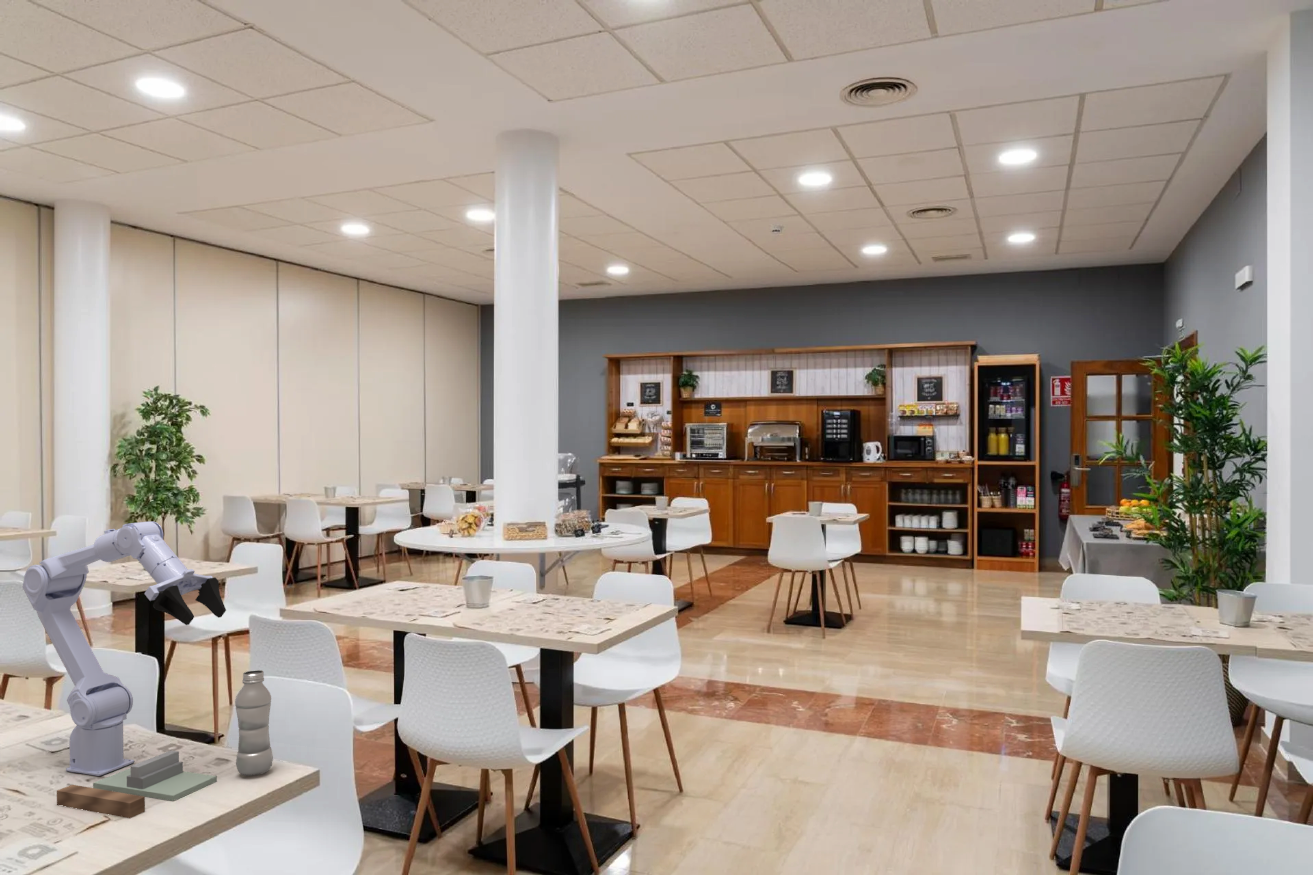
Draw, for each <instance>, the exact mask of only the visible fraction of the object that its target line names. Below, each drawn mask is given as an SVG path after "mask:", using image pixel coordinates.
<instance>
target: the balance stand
mask: <svg viewBox="0 0 1313 875" xmlns="http://www.w3.org/2000/svg"><path fill="white" fill-rule="evenodd" d="M179 754H180V751H179V750H168V751H166V752H163V753H160V754H158V755H156V756H152V757H150V758H147V759H144V760H143V761H140V762H137V763H134V764H132V765H131V766H130V767H129V768H127V769H125V770H122V771H120V772H117V773H115V774H112V775H109V776H107V777H105V778H101V779H100V780H97V781H95V782H94V781H93V783H92V788H96V789H102V790H108V791H114V792H120V793H126V794H132V795H138V796H144V797H145V798H146V797H147V798H153V799H157V800H164V801H171V802H174V801H177V800H179V799H182V798H183V797H185V796H188V795H190V794H192V793H194V792H196V791H199V790H201V789H203V788H205V787H208V786H209V785H212V784H214V783H216V782H218V780H217V778H218V776H217V775H212V774H205V773H197V772H191V771H184V765H183V764H184V762H182V761H180V758H179V756H180V755H179Z"/></svg>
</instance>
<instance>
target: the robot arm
mask: <svg viewBox="0 0 1313 875" xmlns="http://www.w3.org/2000/svg"><path fill="white" fill-rule="evenodd" d="M103 532H104V533H103V534H102V535H99V536H98V537H97V538H96V539H95V540H94V542H93V544H90V545H87V546H84V547H79V548H77V549H73V550H70V551H67V552H64V553H60V554H58V555H55V556H51V557H48V558H45V559H43V560H42V561H39V563H38V564H33V565H30V566H29V567H28V568H27V569H26V570H25V574H24V576H23V582H22V589H23V592H24V593H25V595H26V596H27V599H28V601H29V603H30V604H31V607H32V608H33V610H34V611H36V615H37V616H38V619H39V621H40V623H41V625H42V626H43V628H44V630H45V632H46V634H47V636H48V638H49V640H50V642H51V644H52V645H53V647H54V650H55V651H56V653H57V655H58V657H59V659H60V661H61V662H62V664H63V666H64V668H65V670H66V672H67V674H68V675H69V677H70V679H71V680H70V681H71V682H72V683H73V685H74V687H73V688H72V690H70V693H69V694H68V695H67V698H66V703H67V704H68V705H69V709H70V710H69V711H70V717H71V720H72V722H73V723H74V725H76V726H75V727H74V728H73V729H72V730H71V733H70V735H69V740H68V741H69V767H65V771H66V772H71V773H76V774H82V775H83V774H84V775H90V776H97V777H100V776H103V775H106V774H108V773H111V772H113V771H117V770H119V769H121V768H124V767H126V766H129V765H131V764H132V765H133V764H135V760H134V759H128V758H124V721H125V720H127V715H128V714H129V713H130V712H131V711H132V708H133V706H134V697H133V693H132V692H131V690H130V689H129V687H128V686H126V685H124V684H123V682H122V681H121V679H120V678H119V677H118V676H115V675H113V674H109V673H107V672H105V671H104V670H103V668H102V666H101V664H100V663H99V661H98V660H97V657H96V655H95V654H94V651H93V650H92V648H91V646H90V644H89V642H88V641H87V638H86V637H85V635H84V633H83V632H82V630H81V628H80V626H79V623H78V622H77V620H76V619H75V616H74V615H73V613H72V611H71V608H72V606H74V605H75V604H76V603H77V601H78V600H79V597H80V596H81V593H82V591H83V589H84V586H85V584H86V582H87V577H88V574H89V572H90V571H89V567H88V565H90V564H93V563H95V562H98V561H102V562H105V563H112V562H115V561H119V560H121V559H124V558H127V557H130V556H131V558H132V559H135V560H137V561H138V562H139V563H140V564H141V566H142V567H143V569H145V571H146V572H147V573H148V574H149V576H150V577H151V578H152V579H153V580H154V581H155V583H156V584H154V585H149V586H148V587H147V589H146V590H145V592H144V595H145V596H146V598H147V599H148V600H149V601H150V602H151V601H154V602H153V604H152V607H153V609H154V610H157V611H160V612H162V613H166V614H168V615H170V616H171V617H173V618H175V619H176V620H178V622H179V621H180V622H181V623H182V624H183V625H185V626H189V625H190V624H191V623H192V621H193V620H194V618H195V616H194V614H193V611H192V610H191V609H190V607H189V606H188V605H187V603H186V602H185V600H184V598H183V596H182V595H186V594H188V593H190V592H193V591H196V590H197V591H198V592H197V594H198V595H197V596H196V598H195V600H194V601H196V602H199V603H200V604H201V605H203V606H205V608H207V609H208V610H209V611H210V613H212V615H214V616H215V617H216V618H222V616H224V614H225V613H226V611H227V609H226V607H225V604H224V602H223V599H222V596H221V592H220V585H219V584H220V582H219V579H217V578H216V577H214V576H212V575H204V574H199V573H196V572H195V570H194V569H193V568H187V567H186V565H185V564H184V563H183V562H182V560H181V559H180V558H179V557H178V555H176V553H175V552H174V551H173V550H172V548H171V547H170V546H169V545H168V544H167V543H166V541H165V540H164V531H163V528H162V526H161V525H160V524H159V523H158V522H156V521H139V522H131V523H125V524H122V526H121V527H120V528H118V529H115V528H112V529H106V530H104V531H103Z"/></svg>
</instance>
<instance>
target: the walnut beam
mask: <svg viewBox="0 0 1313 875" xmlns="http://www.w3.org/2000/svg"><path fill="white" fill-rule="evenodd" d="M56 805H57V806H59V805H63V806H62V807H64V806H66V807H65V808H70V807H73V808H72V809H75V808H77V809H76V810H81V809H83V810H82V811H86V810H87V811H88V812H93V813H97V812H99V813H98V814H104V815H108V814H109V815H110V816H114V817H120V818H125V819H131V818H134V817H137V816H139V815H141V814H143V813H145V812H146V797H145V796H139V795H132V794H126V793H120V792H114V791H108V790H102V789H96V788H93V787H89V786H84V785H83V786H82V785H77V784H70V785H68V786H66V787H63V788H60V789H57V790H56Z"/></svg>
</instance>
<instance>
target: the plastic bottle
mask: <svg viewBox="0 0 1313 875" xmlns="http://www.w3.org/2000/svg"><path fill="white" fill-rule="evenodd" d="M264 676H265V674H264V671H263V670H260V669H255V670H248V671H247V670H246V671H245V672H242V682H241V683H242V684H243V686H242V687H241V688H240V689H239V691H238V693H237V694H236V696H235V699H234V705H235V706H234V707H235V711H236V716H237V727H238V745H237V746H238V747H237V751H236V752H237V753H236V759H235V766H236V770H237V772H238V773H239V774H240V776H241V775H242V776H246V777H247V776H257V775H261V774H264V773H265V774H266V773H267V772H268V771H270V769H271V767H272V766H273V761H274V755H273V750H272V747H271V741H270V729H269V728H270V727H269V724H270V714H271V713H270V712H271V705H272V704H271V703H272V695H271V692H270V691H269V689H268V688H267V687H266V686H265V684H264V683H263V682H264V681H265V677H264Z"/></svg>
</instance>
